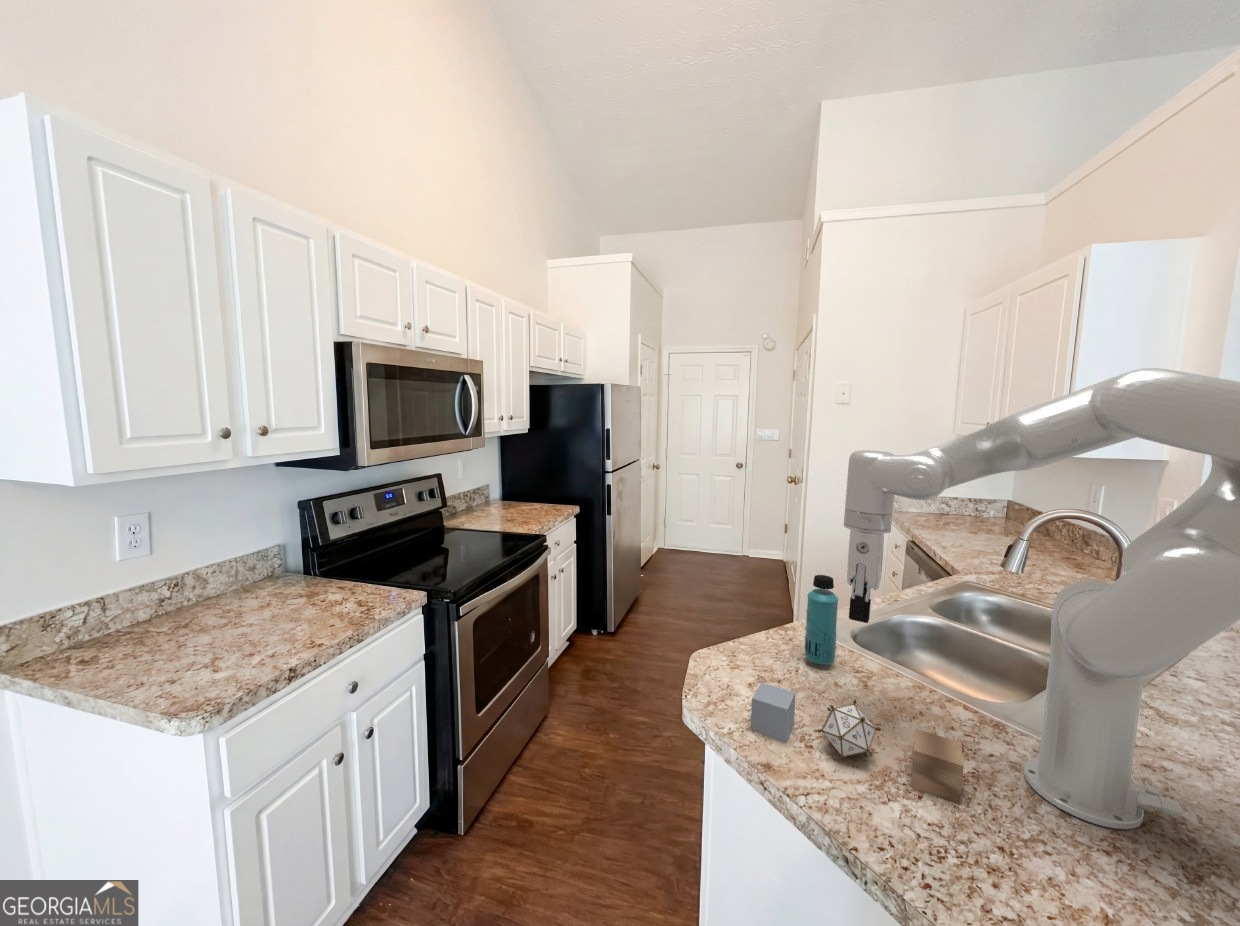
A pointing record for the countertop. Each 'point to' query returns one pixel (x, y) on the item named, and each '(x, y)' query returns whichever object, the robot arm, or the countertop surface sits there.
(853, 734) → the game die
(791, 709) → the slate block
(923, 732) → the walnut block
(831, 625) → the beverage bottle
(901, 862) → the countertop surface
